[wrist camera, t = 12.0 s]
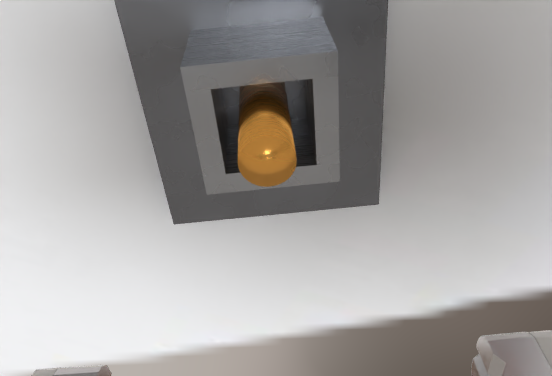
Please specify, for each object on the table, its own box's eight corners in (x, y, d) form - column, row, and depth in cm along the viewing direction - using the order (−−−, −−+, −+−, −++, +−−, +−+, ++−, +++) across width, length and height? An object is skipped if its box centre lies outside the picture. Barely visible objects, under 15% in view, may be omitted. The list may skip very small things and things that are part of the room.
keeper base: (387, -120, 20) (455, -103, 14) (374, 194, 29) (411, 294, 23) (97, -90, 20) (26, -59, 14) (175, 213, 29) (155, 319, 23)
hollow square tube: (322, 16, 22) (337, 51, 18) (326, 132, 26) (339, 181, 22) (191, 30, 22) (179, 67, 19) (212, 144, 26) (206, 194, 22)
